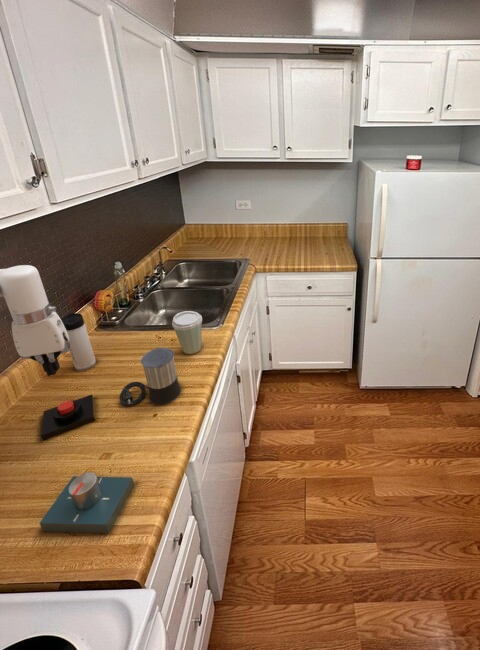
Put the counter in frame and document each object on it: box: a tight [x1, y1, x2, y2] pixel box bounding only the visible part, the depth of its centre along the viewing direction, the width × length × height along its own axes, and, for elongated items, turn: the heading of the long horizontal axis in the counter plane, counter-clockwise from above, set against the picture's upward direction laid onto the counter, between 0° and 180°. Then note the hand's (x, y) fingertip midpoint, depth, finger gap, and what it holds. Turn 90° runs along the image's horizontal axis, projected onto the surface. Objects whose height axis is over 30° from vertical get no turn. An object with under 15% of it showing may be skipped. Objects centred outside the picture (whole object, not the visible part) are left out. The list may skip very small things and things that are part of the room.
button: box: [57, 400, 75, 415], centre depth 95 cm, size 4×4×2 cm
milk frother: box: [119, 347, 182, 407], centre depth 102 cm, size 14×16×15 cm
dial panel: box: [39, 475, 135, 534], centre depth 73 cm, size 14×10×3 cm
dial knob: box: [69, 471, 102, 511], centre depth 72 cm, size 5×5×5 cm
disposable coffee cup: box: [171, 310, 203, 355], centre depth 124 cm, size 11×11×15 cm
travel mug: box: [60, 312, 97, 372], centre depth 115 cm, size 6×7×20 cm
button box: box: [40, 394, 96, 441], centre depth 96 cm, size 12×10×4 cm
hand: (53, 372), depth 90 cm, fingers closed
